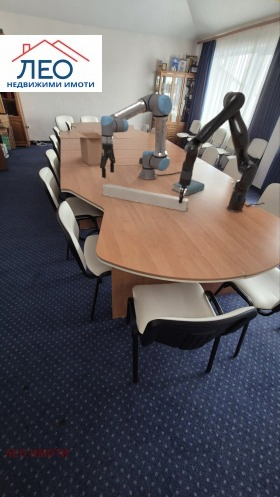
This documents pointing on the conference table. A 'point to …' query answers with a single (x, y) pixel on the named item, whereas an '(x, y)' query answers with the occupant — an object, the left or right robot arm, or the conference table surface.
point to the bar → (145, 197)
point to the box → (90, 146)
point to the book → (189, 187)
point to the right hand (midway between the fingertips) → (181, 200)
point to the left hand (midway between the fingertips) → (108, 174)
